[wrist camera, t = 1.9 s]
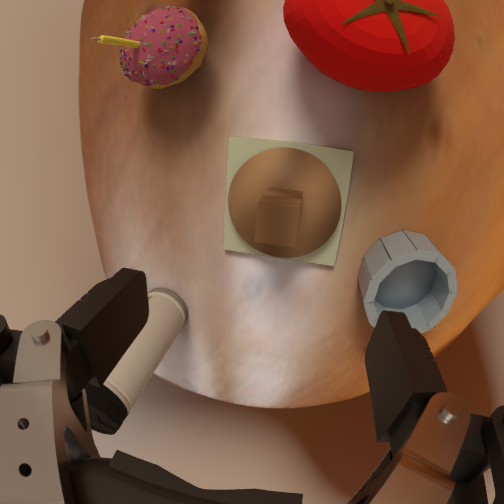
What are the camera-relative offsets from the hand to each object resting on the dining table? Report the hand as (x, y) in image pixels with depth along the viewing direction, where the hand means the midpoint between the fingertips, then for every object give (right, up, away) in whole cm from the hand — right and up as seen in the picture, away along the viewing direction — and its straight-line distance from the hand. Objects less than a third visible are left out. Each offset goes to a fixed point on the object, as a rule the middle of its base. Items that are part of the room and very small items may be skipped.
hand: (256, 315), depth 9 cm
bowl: (+16, 0, +20) cm, 26 cm away
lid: (+3, +7, +19) cm, 21 cm away
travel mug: (-12, -5, +29) cm, 32 cm away
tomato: (+10, +23, +12) cm, 27 cm away
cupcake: (-7, +23, +15) cm, 28 cm away
